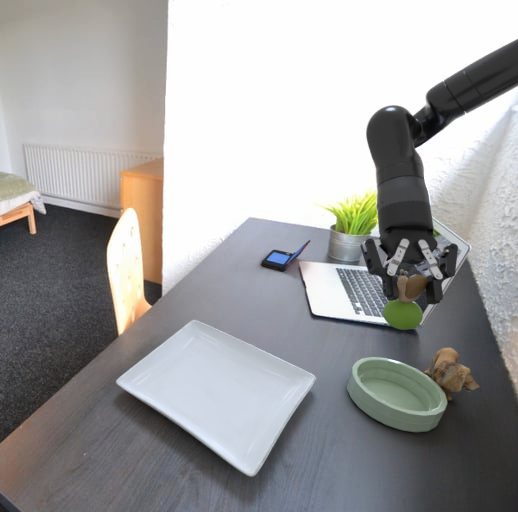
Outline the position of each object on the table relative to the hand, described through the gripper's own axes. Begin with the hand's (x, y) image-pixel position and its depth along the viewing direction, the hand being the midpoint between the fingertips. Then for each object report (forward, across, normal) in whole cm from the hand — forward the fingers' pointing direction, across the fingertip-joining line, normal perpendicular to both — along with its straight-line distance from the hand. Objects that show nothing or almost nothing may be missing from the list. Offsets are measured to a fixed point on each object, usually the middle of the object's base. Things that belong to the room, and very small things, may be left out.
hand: (413, 301), depth 60 cm
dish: (+16, +1, +12) cm, 20 cm away
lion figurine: (+12, +12, +16) cm, 24 cm away
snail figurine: (+4, 0, +6) cm, 7 cm away
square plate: (+19, -30, +10) cm, 37 cm away
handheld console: (-23, -8, +52) cm, 57 cm away
